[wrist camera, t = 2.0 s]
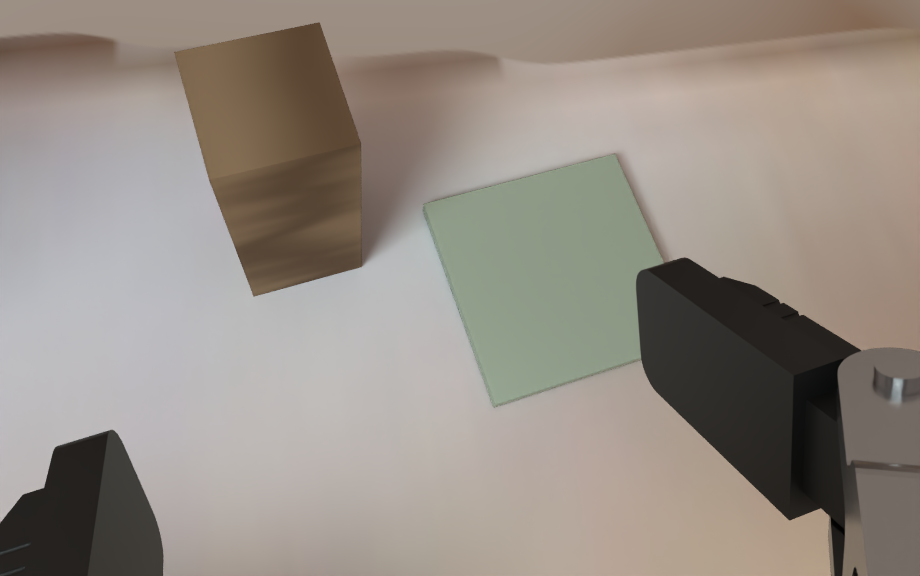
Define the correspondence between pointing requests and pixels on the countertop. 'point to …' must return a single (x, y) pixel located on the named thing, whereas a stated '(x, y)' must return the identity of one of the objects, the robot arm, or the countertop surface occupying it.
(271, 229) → the walnut block
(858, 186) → the countertop surface
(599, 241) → the coaster
